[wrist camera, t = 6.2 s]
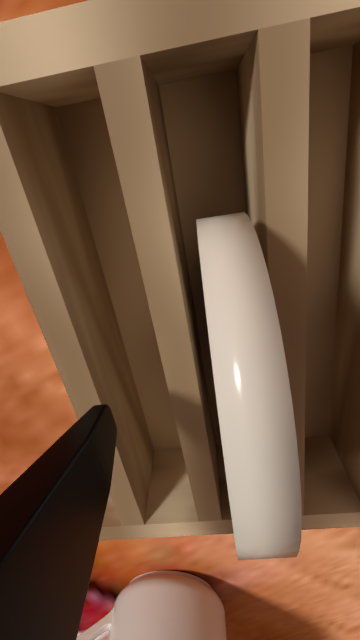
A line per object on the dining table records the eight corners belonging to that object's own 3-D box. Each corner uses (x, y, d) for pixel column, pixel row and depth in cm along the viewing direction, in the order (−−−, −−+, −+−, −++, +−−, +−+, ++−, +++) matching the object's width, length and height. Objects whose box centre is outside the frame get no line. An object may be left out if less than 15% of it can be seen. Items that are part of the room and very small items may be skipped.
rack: (425, -6, 10) (613, -129, 5) (367, 430, 18) (423, 523, 14) (-9, 89, 11) (-138, 55, 7) (120, 451, 20) (98, 540, 15)
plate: (228, 192, 12) (304, 285, 4) (245, 390, 16) (299, 638, 8) (195, 197, 12) (201, 298, 4) (220, 393, 16) (248, 639, 8)
